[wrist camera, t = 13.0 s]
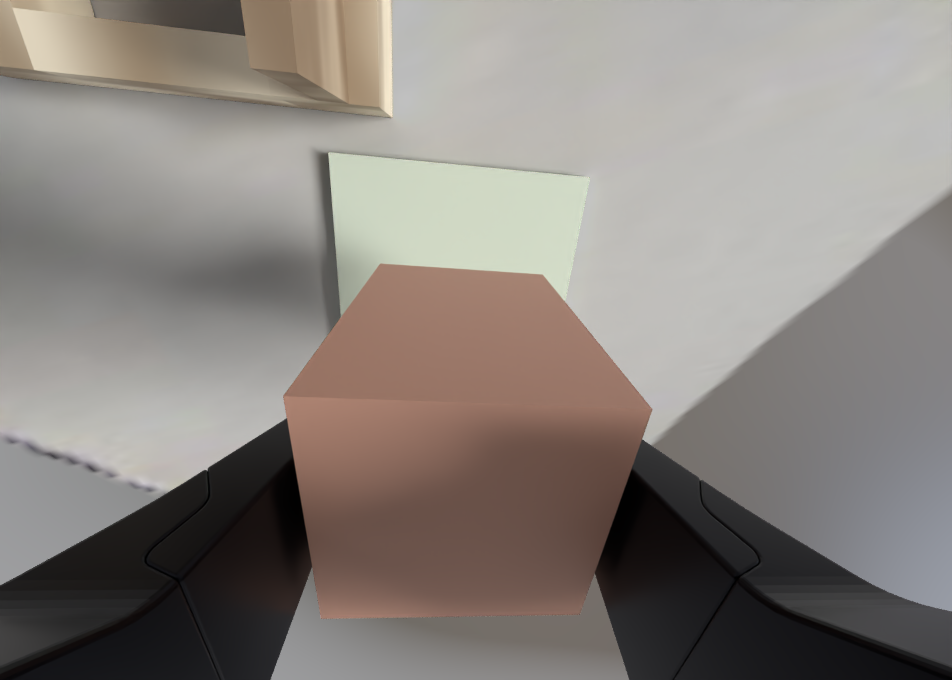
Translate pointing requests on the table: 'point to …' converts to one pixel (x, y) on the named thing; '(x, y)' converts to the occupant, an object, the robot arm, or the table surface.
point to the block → (459, 448)
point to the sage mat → (451, 219)
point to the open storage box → (213, 53)
